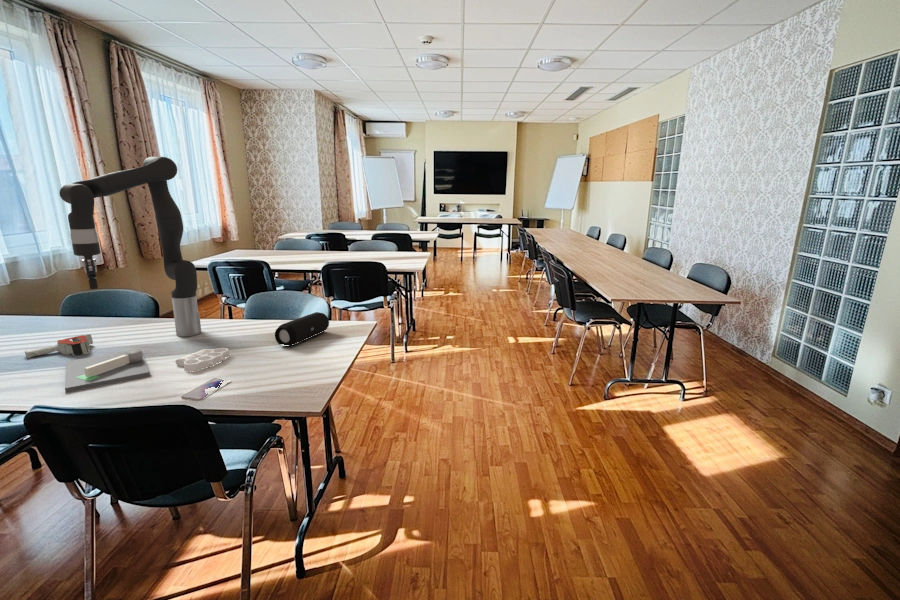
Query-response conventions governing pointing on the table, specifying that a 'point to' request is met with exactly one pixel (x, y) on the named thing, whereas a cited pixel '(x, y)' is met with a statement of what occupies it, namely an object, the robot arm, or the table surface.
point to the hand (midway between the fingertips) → (94, 288)
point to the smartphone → (202, 390)
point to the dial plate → (122, 373)
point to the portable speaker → (301, 328)
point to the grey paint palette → (203, 359)
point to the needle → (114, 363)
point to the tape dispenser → (66, 347)
